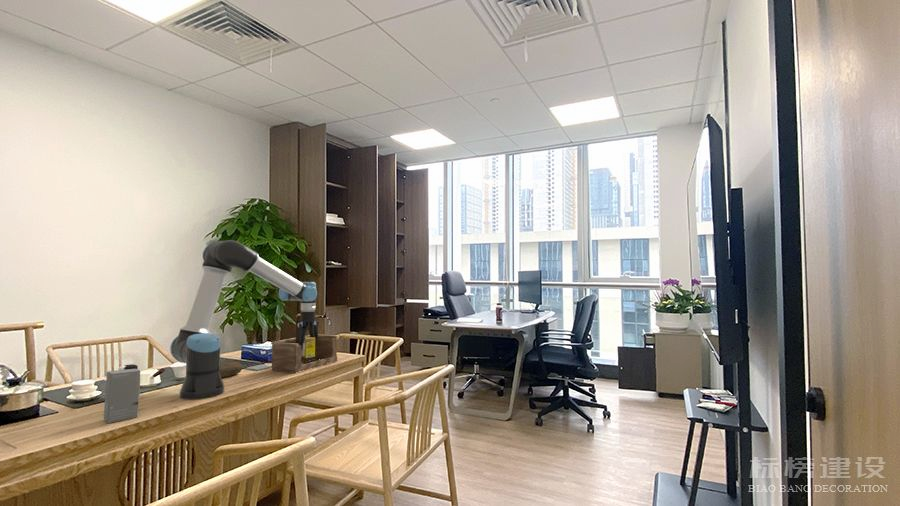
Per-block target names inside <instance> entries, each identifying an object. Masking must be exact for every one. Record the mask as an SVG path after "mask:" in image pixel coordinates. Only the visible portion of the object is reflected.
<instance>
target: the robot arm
mask: <svg viewBox="0 0 900 506" xmlns="http://www.w3.org/2000/svg"><path fill="white" fill-rule="evenodd" d="M202 259H203V262H202V265H201V267H202V270H203V275H202V278H201V280H200V284H199V286H198V290H197V292H196V296H195V298H194V301H193V304H192V306H191V310H190V313H189V316H188V319H187V322H186V324H185V325H184V326H182V327H181V328H180V329H179V333H178V335H177V336H176V337H175V338H174V339H173V340H172V341H171V344H170V349H169V351H170V354H171V356H172V358H174V359H175V360H176V361H177V362H179V363H182V364H185V378H184V380H183V383H182V385H181V388H180V390H179V397H180V399H183V400H201V399H206V398H213V397H216V396H218V395H219V396H220V395H221V394H223V393H224V392H225V385H224V382H223V380H222V379H223V378H221V376H220V372H219V370H220V364H221V362H220V361H221V347H222V346H221V345H222V343H221V338H220V336H219V335H217V334H214V333H211V330H210V329H209V328H210V325H211V323H212V319H213V316H214V313H215V311H216V308H217V303H218V301H219V298H220V295H221V291H222V289H223V285H224V283H225V279H226V277H227V276H229V275H230V274H231V273H232V270H233V268H237V269H238V270H241V271H243V272H250V273H251V274H253V275H255V276H257V277H259V278H260V279H262V280H265V281H266V282H268V283H270V284H271V285H273V286H275V287H277V288H279V290H278V298H279V299H280V301H286V302H290V301H293V302H294V301H296V302H300V319H301V320H300V322H298V323H296V334H295V336H296V337H295V338H296V342H297V343H299V345H301V356H304V352H305V343H304V339H305V336H307V335H306V334H307V331H308V333H309V334H308V335H310V337H314V338H315V341H317V340H318V334H319V321H316V320H315V318H316V307H317V306H316V304H317V303H316V301H317V296H318V291H317V283H316V282H315V281H300V280H298V279H296V278H294V277H293V276H291V275H290V274H288V273H286V272H285V271H283V270H282V269H280V268H278V267H277V266H275V265H274V264H272V263H269V262H268V261H266V260H265V259H263V258H262V257H260V256H259V253H258V252H256V251H255V250H253V249H251V247H248V246H246V245H245V244H243V243H241V242H239V241H236V240H233V239H232V240H231V239H228V240H217V241H213V242H210V243H209V244H207V246H205V248H204V249H203V251H202ZM301 340H302V341H301Z"/></svg>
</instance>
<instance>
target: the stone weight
mask: <svg viewBox="0 0 900 506" xmlns="http://www.w3.org/2000/svg"><path fill="white" fill-rule="evenodd" d="M242 370H243V368H242V365H241V363H240V362H237V361H229V362H222V363H220V370H219V372H220V376H221V379H223V378H224V377H225V378H229V377H232V376H234V375H238V374H240V373H241V372H242ZM228 376H229V377H228ZM225 378H224V379H225Z"/></svg>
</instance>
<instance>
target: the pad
mask: <svg viewBox="0 0 900 506" xmlns="http://www.w3.org/2000/svg"><path fill="white" fill-rule="evenodd" d="M247 369H249V370H248V371H254V370H256V372H259V370H260V371H263V369H264V370H266V369H267V370H268V369H272V365H267V364H258V365H252V366H248V367H245V370H247Z"/></svg>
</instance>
